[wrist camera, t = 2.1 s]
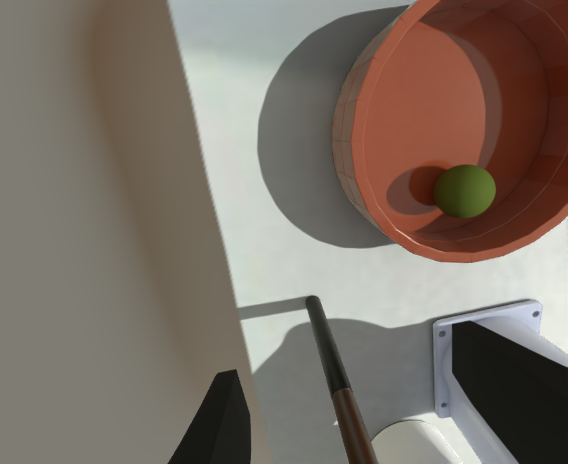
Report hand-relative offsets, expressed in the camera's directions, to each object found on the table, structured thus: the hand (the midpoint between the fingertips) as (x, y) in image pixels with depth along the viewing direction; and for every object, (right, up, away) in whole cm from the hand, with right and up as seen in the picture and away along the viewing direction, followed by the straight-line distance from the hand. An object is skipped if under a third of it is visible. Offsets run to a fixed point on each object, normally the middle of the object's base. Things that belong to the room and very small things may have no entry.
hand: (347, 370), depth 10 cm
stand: (0, 0, +11) cm, 11 cm away
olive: (+8, +7, +7) cm, 13 cm away
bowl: (+7, +10, +8) cm, 15 cm away
